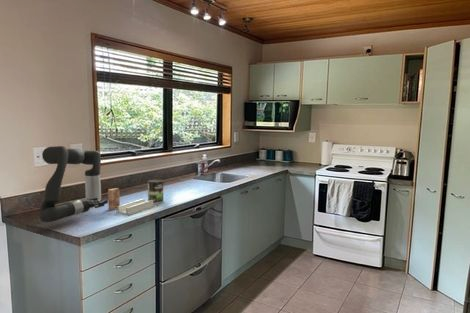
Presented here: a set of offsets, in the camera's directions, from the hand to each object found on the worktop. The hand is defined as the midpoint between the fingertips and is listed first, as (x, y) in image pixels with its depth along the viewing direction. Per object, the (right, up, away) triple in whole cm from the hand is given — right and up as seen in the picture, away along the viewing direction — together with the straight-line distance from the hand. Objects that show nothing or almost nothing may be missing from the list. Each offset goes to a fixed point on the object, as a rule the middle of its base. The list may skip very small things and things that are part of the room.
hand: (102, 200), depth 201 cm
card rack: (+18, -6, +7) cm, 20 cm away
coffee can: (+25, -4, +26) cm, 37 cm away
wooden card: (+4, -6, +9) cm, 11 cm away
